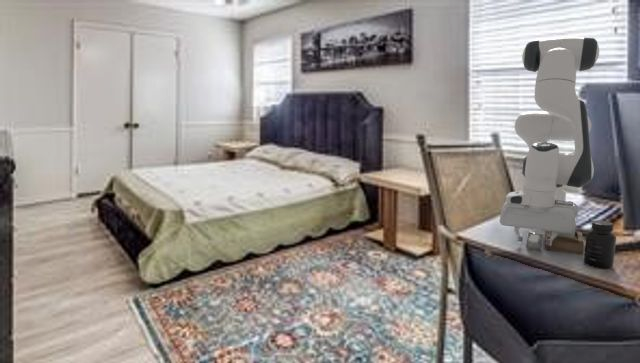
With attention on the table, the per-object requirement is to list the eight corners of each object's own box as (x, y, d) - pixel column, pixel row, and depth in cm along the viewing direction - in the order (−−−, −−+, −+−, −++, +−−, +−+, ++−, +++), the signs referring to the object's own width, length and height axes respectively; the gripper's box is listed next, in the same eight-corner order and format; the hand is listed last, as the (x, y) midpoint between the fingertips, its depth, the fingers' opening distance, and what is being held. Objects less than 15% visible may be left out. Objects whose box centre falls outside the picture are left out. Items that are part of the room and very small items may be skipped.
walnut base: (544, 239, 140) (546, 227, 139) (580, 244, 136) (582, 231, 135) (544, 248, 132) (546, 236, 131) (583, 254, 127) (584, 241, 126)
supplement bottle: (590, 258, 124) (596, 217, 122) (617, 266, 119) (623, 223, 116) (578, 263, 121) (583, 221, 118) (604, 271, 115) (611, 228, 113)
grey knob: (526, 245, 135) (527, 229, 134) (540, 247, 133) (542, 231, 132) (525, 249, 131) (527, 233, 130) (540, 251, 129) (542, 235, 128)
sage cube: (554, 233, 136) (556, 218, 135) (573, 235, 134) (575, 220, 133) (554, 238, 132) (556, 222, 131) (573, 240, 130) (575, 224, 129)
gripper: (578, 200, 127) (573, 245, 130) (502, 192, 136) (499, 235, 139) (580, 204, 121) (574, 252, 124) (501, 196, 131) (497, 240, 133)
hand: (534, 243), depth 132 cm, fingers open, 6 cm apart
